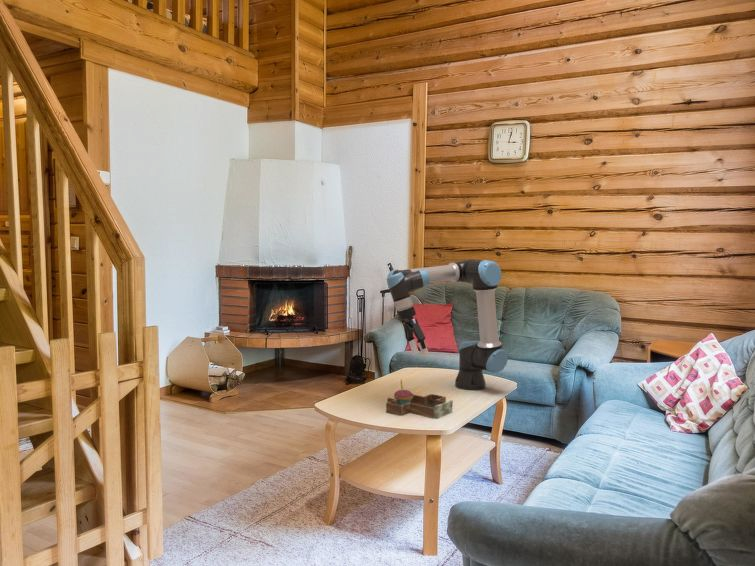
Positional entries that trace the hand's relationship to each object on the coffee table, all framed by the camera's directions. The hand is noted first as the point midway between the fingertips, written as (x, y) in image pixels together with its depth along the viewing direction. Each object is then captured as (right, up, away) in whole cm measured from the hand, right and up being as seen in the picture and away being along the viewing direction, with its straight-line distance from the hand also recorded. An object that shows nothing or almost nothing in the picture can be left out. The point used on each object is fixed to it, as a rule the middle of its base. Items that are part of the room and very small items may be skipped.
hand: (421, 355), depth 257 cm
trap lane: (-1, -23, +1) cm, 24 cm away
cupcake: (-7, -23, +6) cm, 25 cm away
